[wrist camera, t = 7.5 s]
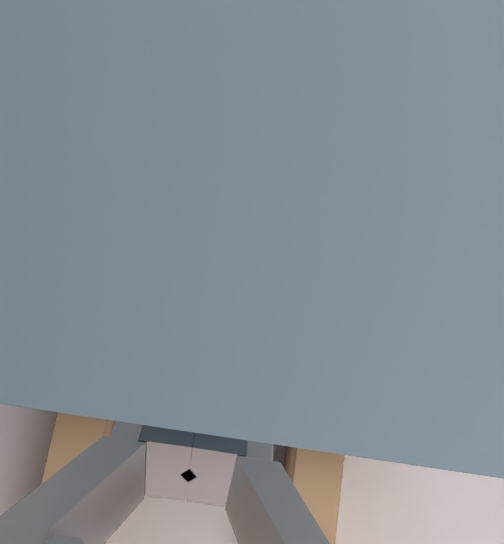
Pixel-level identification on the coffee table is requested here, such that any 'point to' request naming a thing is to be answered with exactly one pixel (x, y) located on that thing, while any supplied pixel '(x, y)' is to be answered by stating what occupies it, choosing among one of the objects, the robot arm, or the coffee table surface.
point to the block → (259, 221)
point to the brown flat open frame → (298, 464)
